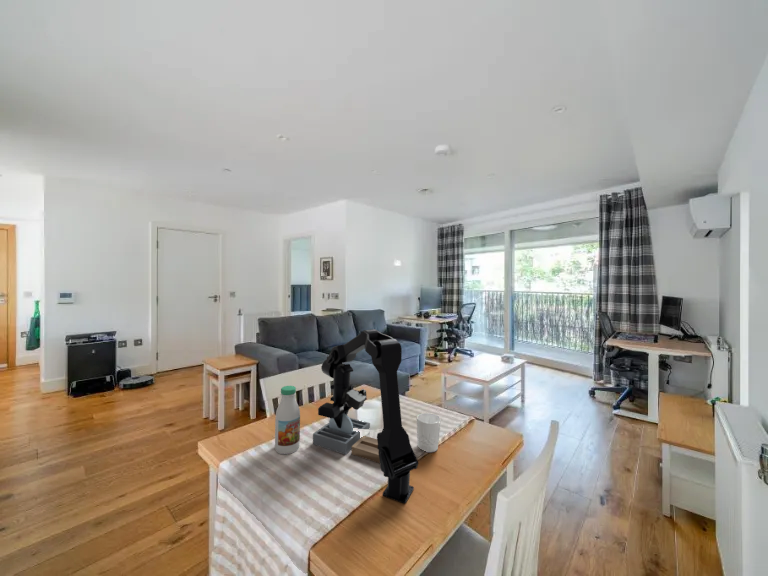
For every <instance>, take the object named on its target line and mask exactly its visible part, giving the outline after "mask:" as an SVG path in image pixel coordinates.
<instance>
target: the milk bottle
mask: <svg viewBox="0 0 768 576" xmlns="http://www.w3.org/2000/svg"><path fill="white" fill-rule="evenodd" d="M296 391H297V388H296V386H294V385H284V386H282V387H281V388H280V396H281V399H280V401H279V404H278V407H277V408H276V411H275V422H274V423H275V424H274V427H275V428H274V450H275V452H276V453H277V454H280V455H289V454H292V453H295V452H297V451H298V450H299V449H300V447H301V445H300V444H301V443H300V442H301V440H300V439H301V410H300V406H299V404H298V402H297V400H296V394H297V393H296Z"/></svg>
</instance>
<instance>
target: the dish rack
mask: <svg viewBox="0 0 768 576" xmlns="http://www.w3.org/2000/svg"><path fill="white" fill-rule="evenodd" d="M349 418H350V419H351V421H352V424H353V428H358V429H369V428H370V429H371V423H370V422H368V421H364V422H362V421H363V420H361V421H359V419H356V418H352V417H349ZM359 439H360V432H359V431H358V432H356V431H353V432H352V434H347V433H344V432H341V431H337V430H334V429H330V428H329V422H327V424H325V425H324V426H322V427H320V428H319V429H317V430H316V431H315V432H314V433H312V445H315V446H318V447H320V448H324V449H326V450H330V451H333V452H337V453H340V454H342V455H347V454H349V453H350V451H351V449H352V446H353V445H354V444H355V443H356V442H357V441H358V440H359Z"/></svg>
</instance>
